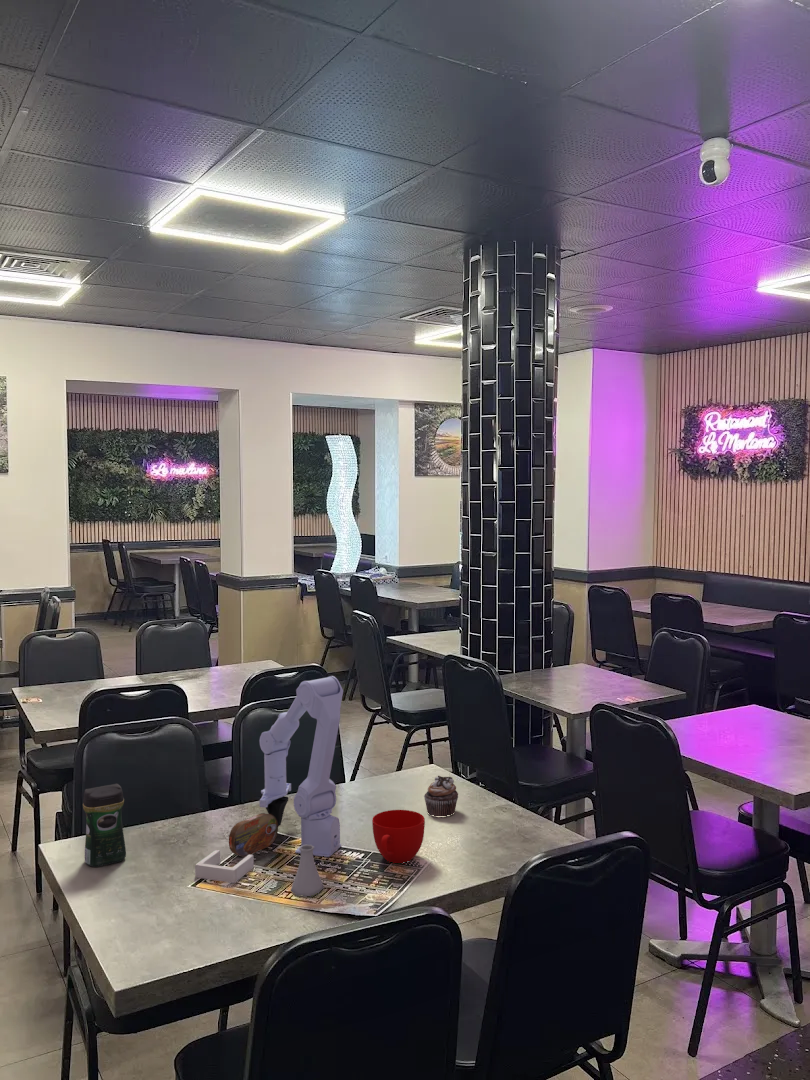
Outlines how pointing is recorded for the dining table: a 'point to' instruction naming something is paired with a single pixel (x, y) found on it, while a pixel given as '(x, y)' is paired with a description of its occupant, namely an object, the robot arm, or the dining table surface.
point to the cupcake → (441, 797)
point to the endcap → (222, 868)
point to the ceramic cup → (398, 834)
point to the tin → (253, 834)
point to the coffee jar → (104, 825)
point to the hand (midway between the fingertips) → (276, 825)
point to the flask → (307, 874)
